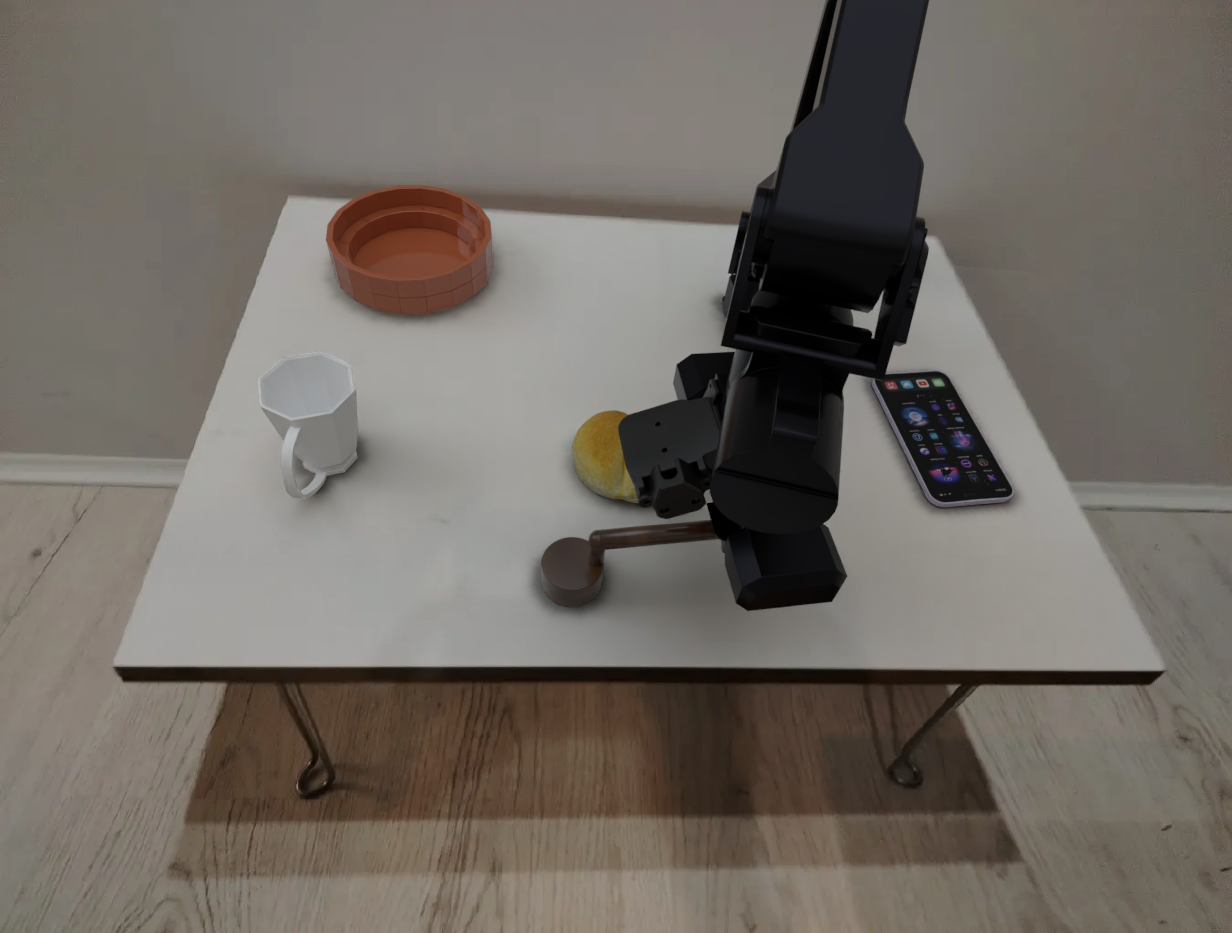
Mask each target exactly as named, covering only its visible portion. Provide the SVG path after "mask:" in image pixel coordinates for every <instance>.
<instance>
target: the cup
mask: <svg viewBox="0 0 1232 933" xmlns="http://www.w3.org/2000/svg"><path fill="white" fill-rule="evenodd" d="M257 387H258V388H257V390H258V401H259V407H260V409H261V410H262V412H263V413H264V415H265V416H266V418H267V419H268V420H269V422H270V423H271V425H272V426H273V427H274V429H275V430H276V432H277V434H278V435H279V436H280V438H281V440H282V446H281V451H280V471H281V475H282V481H283V484H284V488H285V491H286V493H287V494H288V495H289V496H290V497H291V498H292V499H309V498H310V497H312V496H313V495H315V494H316V493H317V492H318V491H319V490H320V489H321V488H322V487H323V485H324V484H325V482H326V480H327V477H328V476H333V475H338V474H343V473H345V472H346V471H347V470H348V469H349V468H350V467H351V466H352V465H353V464H354V463H355V461H356V460H358V452H357V445H358V438H359V437H358V436H359V421H358V403H357V402H358V399H357V397H358V396H357V387H356V382H355V376H354V370H353V365H352V363H351V362H348V361H346V360H343V359H341V358H340V357H337V356H334V355H332V354H330V353H327V352H325V351H323V350H319V351H313V352H307V353H300V354H293V355H287V356H283V357H282V358H280V360H278V361H277V362H275V364H274V365H272V366H271V367H270V368H269V369H268V370H267V371H266V372H264V373H263V374H262V375H261V376H259V378H258V379H257ZM295 457H296V458H298V460H300V461H302V467H303V469H304V470H306V471H308V472H310V473H313V474H315V475H314V478H313V479H312V480H311V482H310V483H309V484H308V485H307V486H305V487H304V488H303V489H301V490H300V489H299V486H298V482H297V478H296V473H295Z"/></svg>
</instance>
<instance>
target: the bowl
mask: <svg viewBox="0 0 1232 933" xmlns="http://www.w3.org/2000/svg"><path fill="white" fill-rule="evenodd" d="M492 233H493V232H492V222H491V220H490V218H489V216H488V215H487V214H486V212H485V211H484V209H483V208H482V207H481V206H480V205H479V204H478V203H476V202H475V201H473V200H472V199H470V198H469V197H467V196H466V195H463V194H461V193H458V192H455V191H453V190H450V189H447V188H443V187H436V186H430V185H424V184H414V185H413V184H411V185H409V184H408V185H403V184H402V185H401V184H400V185H394V186H389V187H382V188H377V189H373V190H370V191H368V192H365V193H363V194H360V195H358V196H356V197H353V198H352V199H351V200H349V201H348V202H347V203H345V204H343V205H342V206H341V207H340V208H338V209H337V210H336V211H335V213H334V214H333V215H332V217H331V219H330V220H329V221H328V223H327V227H326V233H325V234H326V235H325V242H326V246H327V251H328V255H329V259H330V262H331V263H330V264H331V267H332V271H333V275H334V276H335V279H336V281H337V283H338V285H339V287H340V289H341V290H342V291H343V292H345V293H346V294H347V295H348V297H350V298H352V299H353V300H354V301H355V302H357V303H359V304H361V305H363V306H366V307H369V308H371V309H373V310H376V311H379V312H385V313H392V314H396V315H397V314H398V315H418V314H432V313H435V312H440V311H444V310H448V309H451V308H454V307H456V306H458V305H460V304H462V303H464V302H466V301H467V300H470V299H472V298H473V297H475V296H476V295H477V294H478V293H479V292H480V291H481V290H482V289H483V288H484V287H485V286H486V285H487V284H488V282H489V280H490V277H491V275H492V273H493V270H494V251H493V234H492Z"/></svg>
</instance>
